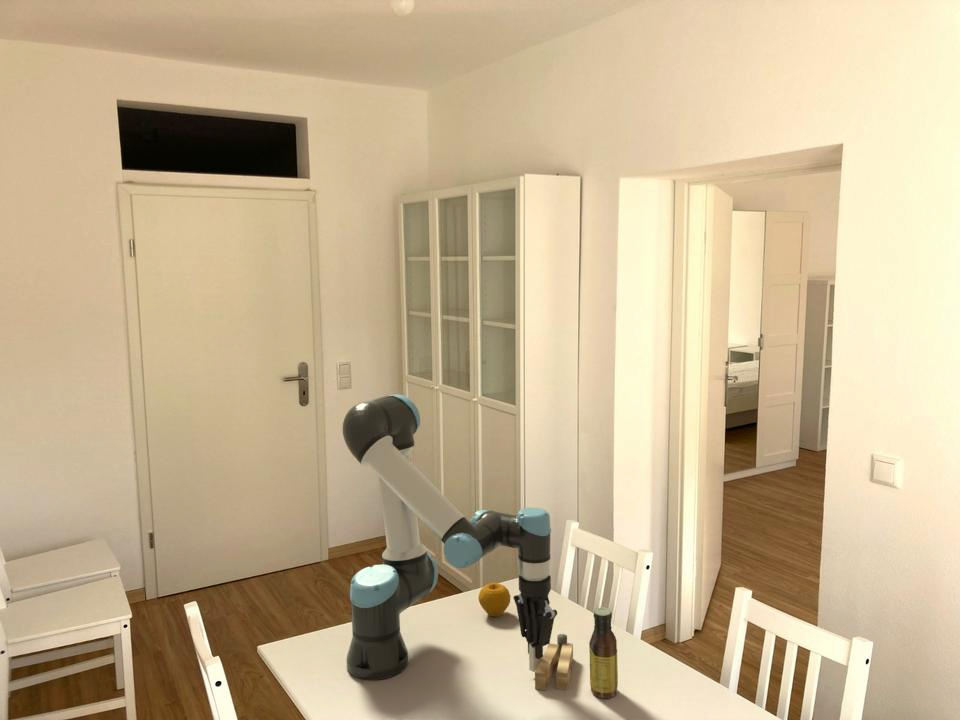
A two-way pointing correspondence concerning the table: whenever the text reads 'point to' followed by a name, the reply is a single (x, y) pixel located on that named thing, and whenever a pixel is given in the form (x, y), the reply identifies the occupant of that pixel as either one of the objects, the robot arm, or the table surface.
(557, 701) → the table surface
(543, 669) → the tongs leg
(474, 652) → the table surface
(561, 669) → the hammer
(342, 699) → the table surface
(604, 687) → the sauce bottle
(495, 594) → the apple
